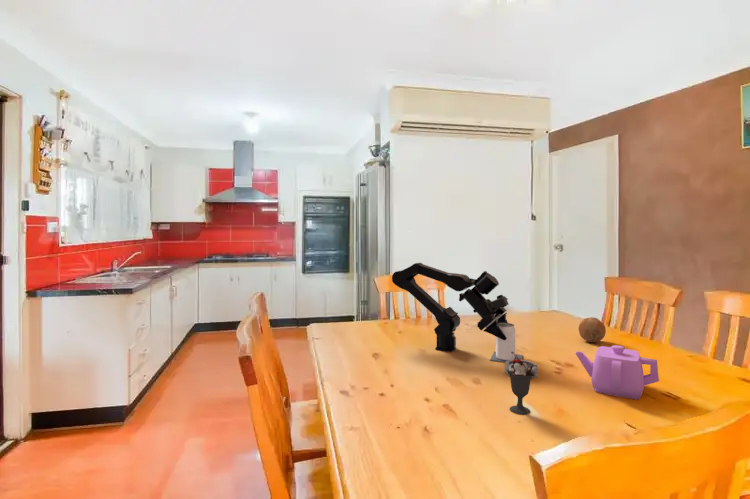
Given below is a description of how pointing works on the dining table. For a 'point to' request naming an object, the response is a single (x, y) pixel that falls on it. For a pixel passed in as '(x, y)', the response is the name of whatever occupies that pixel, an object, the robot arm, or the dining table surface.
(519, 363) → the sundae
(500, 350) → the can
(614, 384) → the teakettle
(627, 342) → the dining table surface
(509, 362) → the holder
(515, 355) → the mat
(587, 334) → the coconut
